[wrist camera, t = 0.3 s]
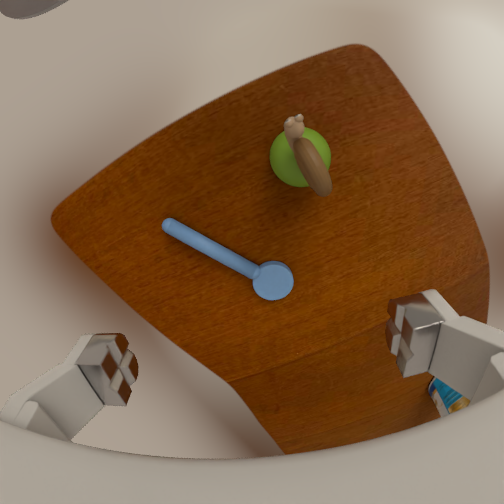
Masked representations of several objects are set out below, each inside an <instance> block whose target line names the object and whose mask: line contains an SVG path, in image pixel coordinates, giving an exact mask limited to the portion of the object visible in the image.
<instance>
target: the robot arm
mask: <svg viewBox="0 0 504 504" xmlns="http://www.w3.org/2000/svg"><path fill="white" fill-rule="evenodd" d="M387 312H388V313H389V315H390V319H389V320H388V321H387V323H386V330H385V334H386V341H387V345H388V348H389V350H390V352H391V353H393V354H395V355H397V359H396V364H397V366H398V368H399V370H400V372H401V374H402V376H403V378H404V377H408V376H412V375H416V374H419V373H423V372H426V371H429V373H430V374H432V375H433V376H435V377H436V378H438V379H439V380H441V381H442V382H444V383H445V384H446V385H448V386H449V387H451V388H452V389H454V390H455V391H457V392H458V393H460V394H461V395H463V396H464V397H466V398H467V399H469V400H470V403H469V404H468V406H467V407H465V408H463V409H460V410H458V411H456V412H453V413H451V414H448V415H446V416H443V417H441V418H438V419H435V420H433V421H430V422H427V423H424V424H421V425H418V426H415V427H412V428H409V429H406V430H403V431H400V432H396V433H393V434H390V435H386V436H382V437H379V438H375V439H371V440H367V441H363V442H359V443H354V444H350V445H345V446H340V447H335V448H329V449H324V450H318V451H311V452H305V453H297V454H289V455H281V456H270V457H257V458H238V459H237V458H236V459H193V458H192V459H191V458H173V457H160V456H149V455H140V454H132V453H125V452H118V451H111V450H106V449H101V448H96V447H91V446H86V445H81V444H77V443H73V442H72V441H71V439H72V438H73V437H74V436H75V435H76V434H77V433H78V432H79V431H80V430H81V429H82V428H83V427H84V426H85V425H86V424H87V423H88V422H89V421H90V420H91V419H92V418H93V417H94V416H95V415H96V414H97V413H98V412H99V411H100V410H101V409H102V408H103V407H104V405H113V406H126V405H127V402H128V399H129V397H130V394H131V392H132V391H131V388H130V385H132V384H133V383H134V382H135V381H136V379H137V376H138V363H137V359H136V357H135V355H134V354H133V353H132V352H131V351H130V350H128V349H127V348H128V344H129V343H128V341H127V339H126V337H125V335H123V334H121V333H102V334H84V335H82V336H81V337H80V338H79V340H78V341H77V343H76V344H75V346H74V347H73V348H72V350H71V352H70V353H69V355H68V356H67V357H66V359H65V361H64V362H63V364H58V365H56V366H55V367H53V368H52V369H50V370H49V371H47V372H46V373H44V374H42V375H41V376H40V377H38V378H36V379H35V380H33V381H32V382H30V383H29V384H27V385H26V386H24V387H23V388H21V389H20V390H18V391H17V392H15V393H13V394H12V395H11V397H10V398H9V400H8V401H7V403H6V404H5V406H4V407H3V409H2V411H1V412H0V504H504V331H502V330H499V329H497V328H494V327H492V326H489V325H486V324H484V323H481V322H479V321H476V320H473V319H471V318H468V317H465V316H462V317H460V316H459V315H458V314H457V313H456V312H455V311H454V310H453V308H452V307H451V306H450V305H449V304H448V303H447V302H446V301H445V300H444V298H443V297H442V296H441V295H440V294H439V293H438V292H437V291H436V290H434V289H430V290H427V291H423V292H419V293H417V294H413V295H408V296H404V297H400V298H395V299H390V300H389V303H388V309H387Z"/></svg>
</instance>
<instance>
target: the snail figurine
mask: <svg viewBox="0 0 504 504" xmlns="http://www.w3.org/2000/svg"><path fill="white" fill-rule="evenodd" d="M302 121H303V116H302V115H301V114H298V115H296V116H295V117H289V118H288V119H287V120H286V121H285V123H284V130H285V131H283V132H282V133H281V134H279V135H278V136H277V137H276V139H275V140H274V142H273V144H272V146H271V149H270V163H271V167H272V169H273V171H274V173H275V174H276V175H277V177H278V178H279V179H281V180H282V181H283V182H285V183H286V184H289V185H291V186H295V187H307V186H310V187H311V188H312V189H313V190H314V191H315V192H316V194H318V195H319V196H322V197H325V196H328V195H329V194H330V193H331V191H332V181H331V178H330V175H329V173H328V170H329V167H330V163H331V153H330V149H329V146H328V144H327V142H326V141H325V139H324V138H323V137H322V136H321V135H320V134H319V133H317V132H316V131H314V130H312V129H309V128H306V127H304V124H303V122H302Z"/></svg>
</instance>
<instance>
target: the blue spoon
mask: <svg viewBox="0 0 504 504" xmlns="http://www.w3.org/2000/svg"><path fill="white" fill-rule="evenodd" d="M162 228H163V230H164V231H165V232H166V233H168V234H169V235H171V236H173V237H175V238H177V239H178V240H180V241H182V242H184V243H186V244H187V245H189V246H191V247H193V248H195V249H197V250H198V251H200V252H202V253H204V254H206V255H208V256H209V257H211V258H213V259H215V260H217V261H219V262H220V263H222V264H224V265H226V266H228V267H230V268H232V269H233V270H235V271H237V272H239V273H241V274H243V275H245V276H247V277H248V278H250V279H253V287H254V290H255V292H256V293H257V294H258V295H259V296H260V297H262V298H264V299H267V300H278V299H281V298H283V297H285V296H286V295H287V294H289V292H290V291H291V289H292V287H293V275H292V272H291V270H290V269H289V267H288V266H287V265H285V264H284V263H282V262H278V261H268V262H265V263H263V264H261V265H260V266H258V265H256V264H254V263H252V262H251V261H249V260H247V259H245V258H243V257H242V256H240V255H238V254H236V253H234V252H232V251H231V250H229V249H227V248H225V247H223V246H222V245H220V244H218V243H216V242H214V241H212V240H211V239H209V238H207V237H205V236H203V235H202V234H200V233H198V232H196V231H194V230H193V229H191V228H189V227H187V226H185V225H184V224H182V223H180V222H178V221H176V220H175V219H173V218H167V219H165V220H164V221H163V223H162Z"/></svg>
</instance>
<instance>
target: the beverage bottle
mask: <svg viewBox="0 0 504 504" xmlns="http://www.w3.org/2000/svg"><path fill="white" fill-rule="evenodd" d="M429 394H430V396H431V398H432V399H433V401H434V403H435V405H436V407H437V409H438V411H439V414H440V416H441V417H443V416H446V415H448V414H451V413H453V412H456V411H458V410H460V409H463V408H465V407H467V406H468V404H469V403H470V400H469V399H467V398H466V397H464V396H463V395H461V394H460V393H458V392H457V391H455V390H454V389H452V388H451V387H449V386H448V385H446V384H445V383H444V382H442V381H441V380H439V379H438V378H436V377H434V379H433V380H432V381H431V383H430V385H429Z"/></svg>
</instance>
